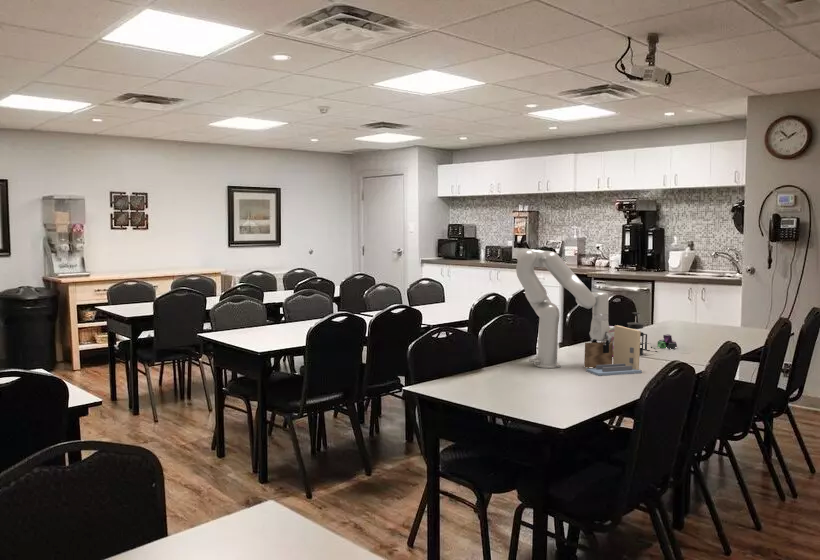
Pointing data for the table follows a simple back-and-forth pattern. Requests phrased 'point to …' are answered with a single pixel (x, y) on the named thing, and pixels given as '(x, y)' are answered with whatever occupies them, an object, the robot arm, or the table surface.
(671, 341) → the mineral sample
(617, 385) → the table surface
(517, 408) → the table surface
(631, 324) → the french press
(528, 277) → the robot arm
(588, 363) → the door
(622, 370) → the cabinet side
